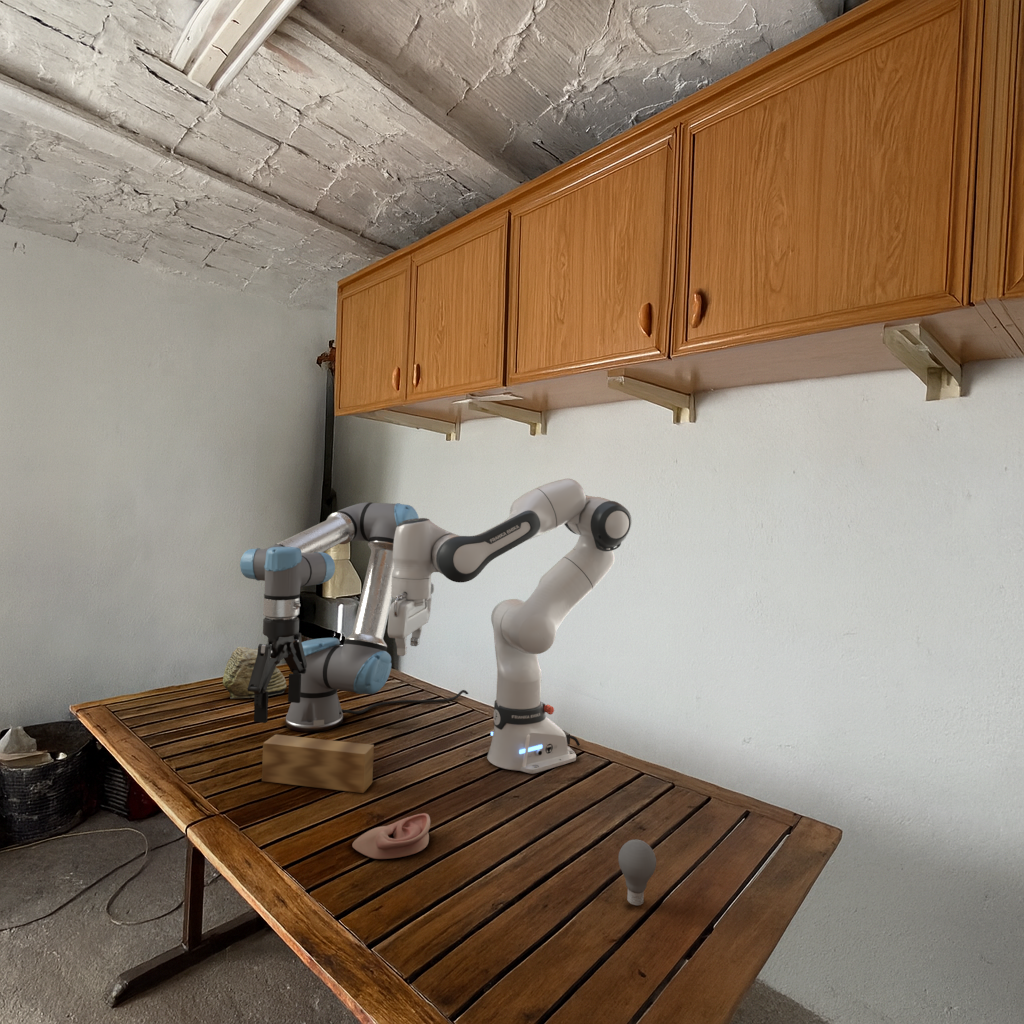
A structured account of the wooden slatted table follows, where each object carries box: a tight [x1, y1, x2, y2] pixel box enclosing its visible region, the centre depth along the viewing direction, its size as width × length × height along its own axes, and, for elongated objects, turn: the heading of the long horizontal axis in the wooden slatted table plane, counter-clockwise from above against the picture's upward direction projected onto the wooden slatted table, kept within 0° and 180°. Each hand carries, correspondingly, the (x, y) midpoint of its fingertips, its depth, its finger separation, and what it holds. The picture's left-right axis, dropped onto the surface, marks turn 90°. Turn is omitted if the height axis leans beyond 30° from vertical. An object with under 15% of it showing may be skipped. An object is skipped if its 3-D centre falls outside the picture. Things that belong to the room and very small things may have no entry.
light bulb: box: [618, 838, 657, 906], centre depth 102 cm, size 6×6×10 cm
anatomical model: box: [351, 812, 431, 860], centre depth 117 cm, size 13×4×12 cm
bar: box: [261, 733, 375, 794], centre depth 141 cm, size 24×5×8 cm, turn 81°
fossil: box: [222, 646, 288, 699], centre depth 198 cm, size 9×18×15 cm, turn 132°
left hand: (278, 711), depth 141 cm, fingers open, 13 cm apart
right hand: (408, 650), depth 144 cm, fingers open, 8 cm apart
